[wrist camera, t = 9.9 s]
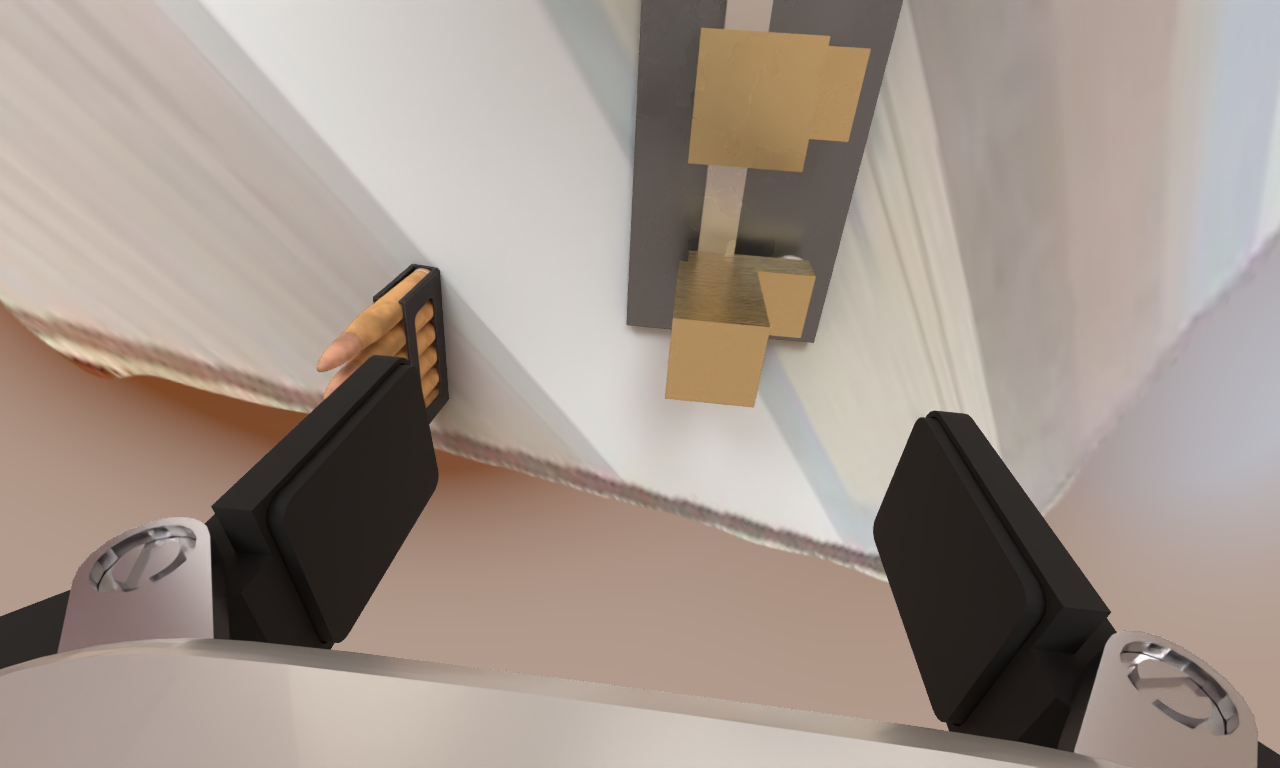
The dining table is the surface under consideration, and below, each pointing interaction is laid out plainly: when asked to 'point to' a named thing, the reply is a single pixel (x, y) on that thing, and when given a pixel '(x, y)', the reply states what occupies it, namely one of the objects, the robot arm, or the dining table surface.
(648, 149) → the hole plate
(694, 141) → the block
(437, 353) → the ammunition clip
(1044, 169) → the dining table surface
